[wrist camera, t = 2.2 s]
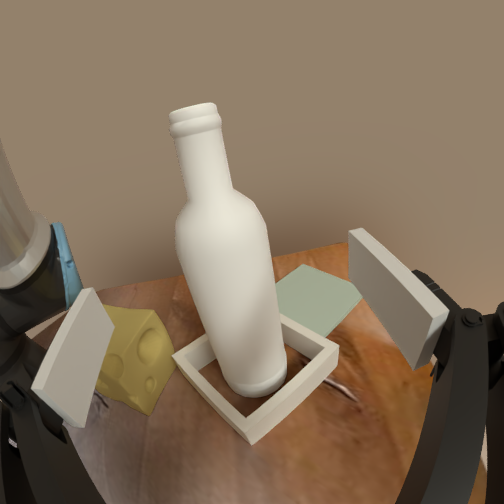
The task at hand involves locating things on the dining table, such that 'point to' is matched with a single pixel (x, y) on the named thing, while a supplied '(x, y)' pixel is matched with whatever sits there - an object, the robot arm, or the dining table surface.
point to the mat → (316, 298)
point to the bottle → (226, 259)
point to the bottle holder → (284, 399)
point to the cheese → (136, 359)
